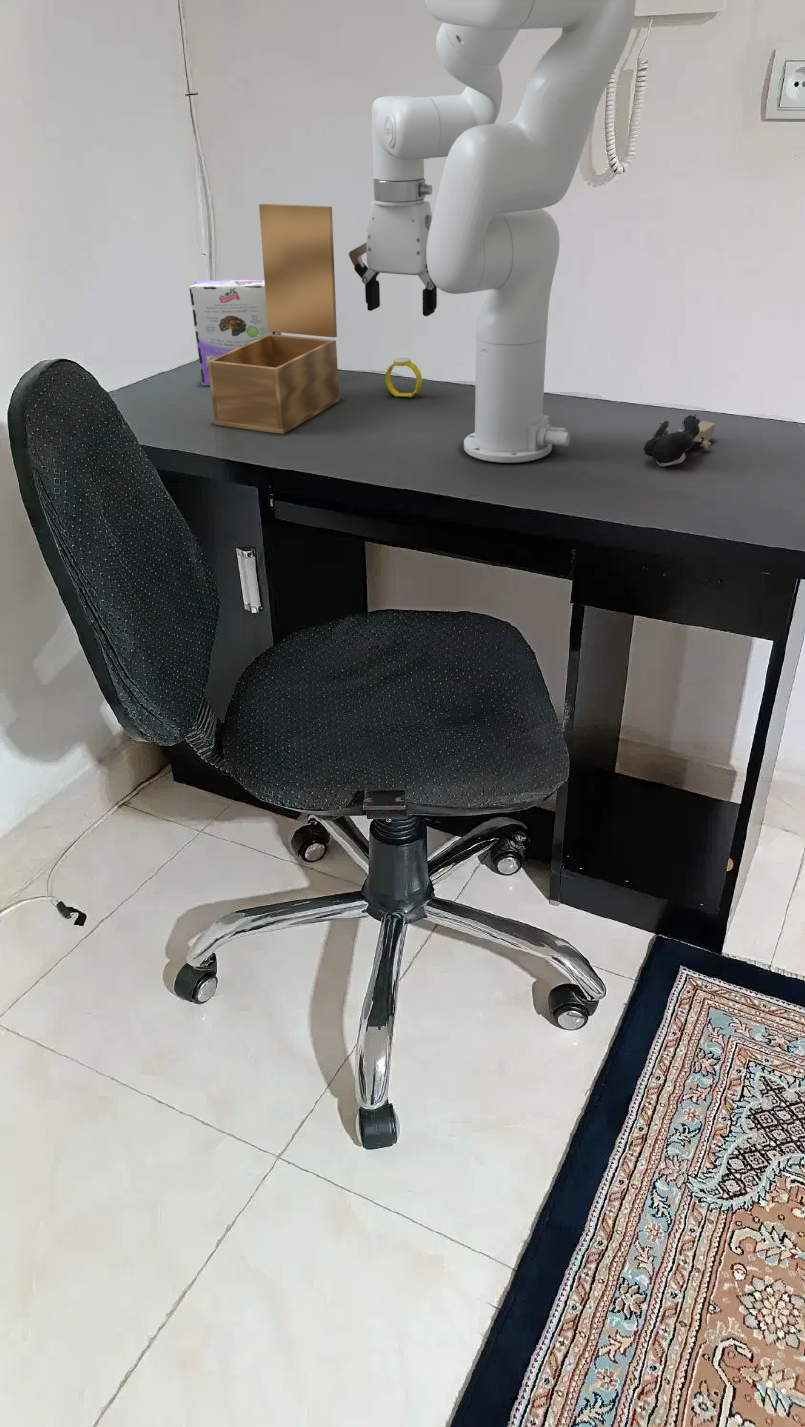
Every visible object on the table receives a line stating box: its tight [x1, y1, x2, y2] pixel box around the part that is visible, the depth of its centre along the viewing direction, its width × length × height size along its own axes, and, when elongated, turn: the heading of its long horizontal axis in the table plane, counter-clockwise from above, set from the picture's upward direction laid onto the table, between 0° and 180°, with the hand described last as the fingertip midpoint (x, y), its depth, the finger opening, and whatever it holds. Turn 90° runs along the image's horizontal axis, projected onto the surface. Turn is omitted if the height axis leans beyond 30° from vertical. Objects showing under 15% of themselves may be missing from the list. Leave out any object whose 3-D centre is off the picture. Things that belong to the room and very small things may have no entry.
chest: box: [207, 334, 340, 435], centre depth 164 cm, size 18×12×10 cm
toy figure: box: [643, 414, 716, 468], centre depth 145 cm, size 7×6×15 cm
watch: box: [384, 357, 423, 398], centre depth 171 cm, size 6×3×6 cm, turn 66°
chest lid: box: [258, 203, 338, 339], centre depth 164 cm, size 19×12×5 cm
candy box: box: [188, 278, 282, 387], centre depth 177 cm, size 14×6×16 cm, turn 84°
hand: (401, 311), depth 165 cm, fingers open, 9 cm apart
